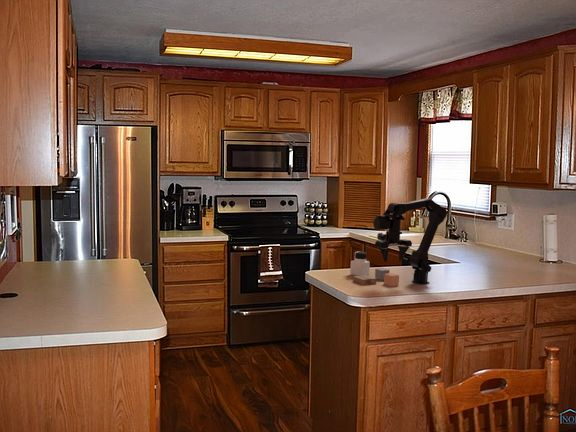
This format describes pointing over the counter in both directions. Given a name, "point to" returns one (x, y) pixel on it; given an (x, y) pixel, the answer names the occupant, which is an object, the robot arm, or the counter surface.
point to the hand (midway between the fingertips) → (392, 261)
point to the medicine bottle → (360, 265)
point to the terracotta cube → (391, 279)
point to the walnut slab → (364, 280)
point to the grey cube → (381, 273)
